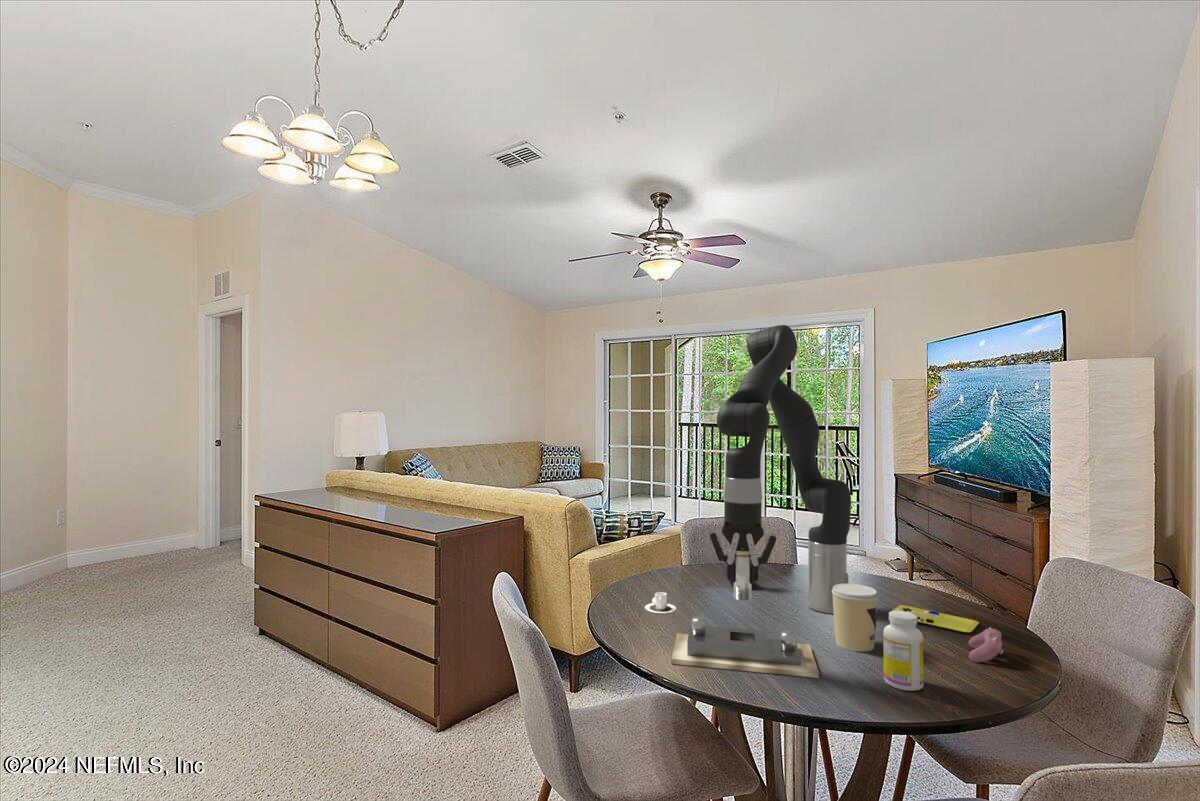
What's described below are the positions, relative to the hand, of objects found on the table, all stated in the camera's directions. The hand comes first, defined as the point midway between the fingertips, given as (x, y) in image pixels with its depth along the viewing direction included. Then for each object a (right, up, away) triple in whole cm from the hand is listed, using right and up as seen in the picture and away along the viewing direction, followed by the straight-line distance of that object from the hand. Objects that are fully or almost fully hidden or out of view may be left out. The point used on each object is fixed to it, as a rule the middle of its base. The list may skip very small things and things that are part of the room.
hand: (742, 582), depth 124 cm
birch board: (0, -15, 0) cm, 15 cm away
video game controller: (+51, -16, 0) cm, 53 cm away
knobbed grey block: (0, -15, 0) cm, 15 cm away
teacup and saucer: (-11, -16, +31) cm, 37 cm away
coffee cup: (+26, -16, +6) cm, 31 cm away
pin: (0, -3, 0) cm, 3 cm away
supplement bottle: (+27, -15, -12) cm, 33 cm away
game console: (+52, -17, +22) cm, 59 cm away
